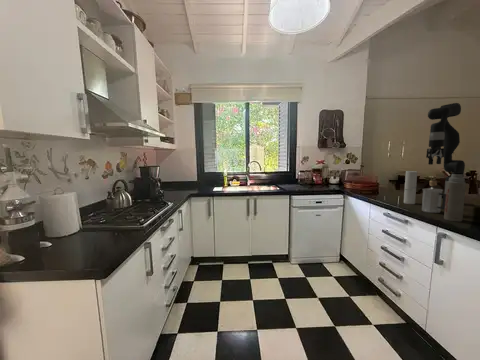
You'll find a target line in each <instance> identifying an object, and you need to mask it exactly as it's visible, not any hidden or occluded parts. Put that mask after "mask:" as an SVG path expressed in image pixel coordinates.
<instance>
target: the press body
mask: <svg viewBox="0 0 480 360" xmlns="http://www.w3.org/2000/svg"><path fill="white" fill-rule="evenodd" d="M431 188H432V187H427V188H421V189H422V190H421V191H422V200H421V201H422V203H421V211H423V212H424V213H432V214H439V213H441V210H445V201H446V194H444V192H443V191H444V189H441V188H434V190H432V189H431Z"/></svg>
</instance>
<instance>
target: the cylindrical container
mask: <svg viewBox="0 0 480 360" xmlns="http://www.w3.org/2000/svg"><path fill="white" fill-rule="evenodd" d="M404 181H405V182H404V191H403V192H404V193H403V203H404V204H408V205H415V204H416V195H417V193H416V192H417V181H418V171H416V170H406V171H405V177H404Z"/></svg>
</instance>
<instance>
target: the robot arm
mask: <svg viewBox="0 0 480 360" xmlns="http://www.w3.org/2000/svg"><path fill="white" fill-rule="evenodd" d="M461 111H462V106H461V104H460V103H458V102H454V103H448V104H443V105H441V106H440V107H436V108H435V107H434V108H431V109H429V110H428V113H427V117H428V119H430V120H439V121H438V122H433V123H432V124H431V125H430V131H429V132H430V133H429V136H428V137H429V139H428V148H427V149H426V159H428V165H429V166H430V165H433V164H434V157H436V164H437V165H441V164H442V159H443V169H444V171H445V172H448V173H452V172H461V173H463V176H464V174H465V169H466V163H465V161H464V160H461V159H453V154H454V152H455V151H456V150H457V148H458V146H459V145H460V143H461V142H460V141H461V140H460V133H459V131H458V130H457V129H456V128H455V127H454V126H452V125H451V123H450V122H449V119H448V118H451V117H457V116H459V115H460V114H461ZM450 177H451V175H450V176H446V177H445V182H444V192H443V193H444V194H446V189H447V181H449V178H450Z"/></svg>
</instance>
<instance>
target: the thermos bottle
mask: <svg viewBox="0 0 480 360" xmlns="http://www.w3.org/2000/svg"><path fill="white" fill-rule="evenodd" d="M450 176H451V177H450ZM450 176H449V177H450V178H449V181H447V189H446V201H445V209H444V213H443V214H444V215H443V219H444V220H446V221H451V222H463V219H464V218H463V217H464V206H465V205H464V204H465V197H466V196H465V195H466V189H467V182H466V179H465V177H464V175H463V173H461V172H451V175H450Z"/></svg>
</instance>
